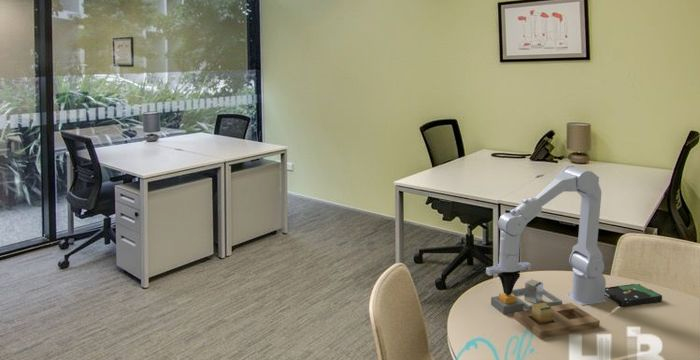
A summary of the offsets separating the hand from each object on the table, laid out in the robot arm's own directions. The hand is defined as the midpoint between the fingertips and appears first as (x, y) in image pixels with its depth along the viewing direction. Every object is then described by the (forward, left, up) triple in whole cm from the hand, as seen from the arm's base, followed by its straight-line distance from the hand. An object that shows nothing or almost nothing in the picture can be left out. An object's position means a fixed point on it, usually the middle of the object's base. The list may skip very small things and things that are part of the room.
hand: (507, 293), depth 158 cm
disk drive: (-42, +6, -6) cm, 43 cm away
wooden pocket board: (-8, +13, -5) cm, 16 cm away
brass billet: (-3, +13, -5) cm, 14 cm away
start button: (0, 0, -4) cm, 4 cm away
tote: (-11, -2, -5) cm, 12 cm away
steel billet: (-11, -2, -5) cm, 12 cm away
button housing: (0, 0, -5) cm, 5 cm away
